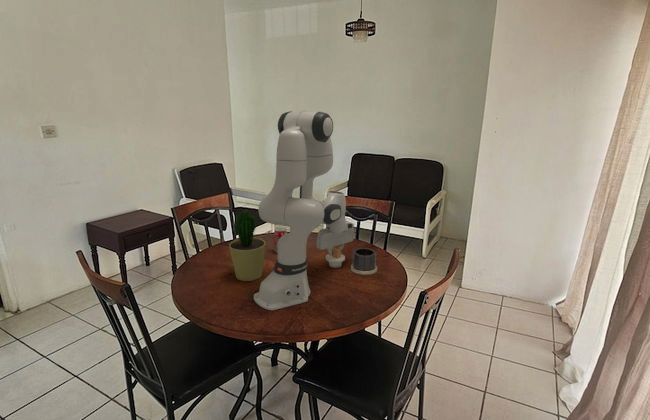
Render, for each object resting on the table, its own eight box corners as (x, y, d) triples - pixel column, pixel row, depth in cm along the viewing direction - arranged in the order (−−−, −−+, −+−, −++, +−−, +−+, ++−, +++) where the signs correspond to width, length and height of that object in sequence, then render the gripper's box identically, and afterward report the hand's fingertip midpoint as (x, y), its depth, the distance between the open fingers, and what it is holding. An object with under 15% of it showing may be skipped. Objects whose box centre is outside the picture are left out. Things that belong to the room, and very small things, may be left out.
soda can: (289, 249, 192) (288, 227, 188) (286, 254, 185) (285, 231, 182) (275, 248, 192) (275, 226, 189) (272, 253, 185) (271, 231, 182)
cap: (334, 270, 167) (334, 253, 164) (321, 264, 173) (321, 248, 171) (348, 265, 172) (349, 249, 170) (336, 259, 179) (336, 243, 177)
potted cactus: (259, 284, 153) (256, 215, 145) (224, 281, 156) (219, 213, 148) (271, 269, 167) (269, 206, 159) (240, 266, 170) (236, 204, 162)
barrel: (363, 277, 160) (364, 259, 158) (345, 268, 169) (345, 251, 167) (382, 270, 167) (383, 253, 165) (363, 262, 176) (364, 245, 174)
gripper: (322, 232, 159) (322, 261, 163) (356, 223, 171) (355, 250, 175) (313, 228, 164) (313, 257, 167) (347, 220, 176) (346, 247, 180)
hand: (335, 253), depth 171 cm, fingers open, 4 cm apart
